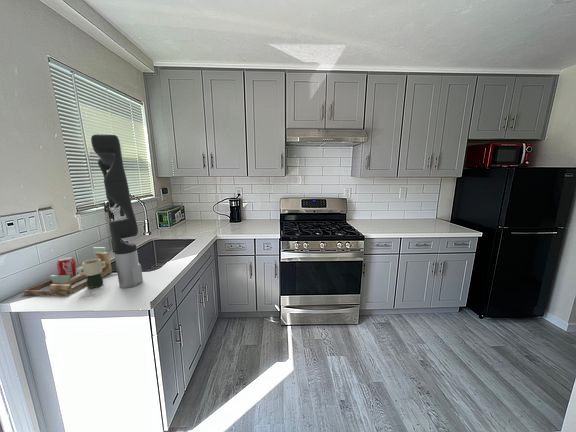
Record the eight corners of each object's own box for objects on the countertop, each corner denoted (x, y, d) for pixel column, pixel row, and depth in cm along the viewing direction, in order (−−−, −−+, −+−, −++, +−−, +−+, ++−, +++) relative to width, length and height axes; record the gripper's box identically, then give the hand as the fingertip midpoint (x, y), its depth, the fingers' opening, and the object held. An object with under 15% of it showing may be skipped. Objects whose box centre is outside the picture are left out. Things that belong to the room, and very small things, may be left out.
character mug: (104, 279, 123) (100, 256, 121) (111, 282, 120) (108, 258, 118) (78, 289, 114) (74, 263, 112) (86, 292, 111) (81, 266, 108)
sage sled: (110, 264, 144) (107, 247, 142) (69, 283, 119) (65, 263, 117) (95, 264, 145) (92, 247, 143) (51, 283, 120) (47, 262, 118)
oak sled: (114, 271, 134) (111, 252, 132) (69, 293, 109) (65, 271, 107) (98, 270, 135) (95, 252, 133) (51, 293, 110) (46, 270, 108)
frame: (108, 274, 130) (107, 271, 129) (67, 296, 107) (66, 292, 107) (72, 273, 131) (71, 270, 131) (24, 294, 109) (23, 290, 109)
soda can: (81, 277, 127) (78, 256, 125) (70, 283, 120) (65, 260, 118) (68, 277, 127) (64, 256, 125) (56, 283, 120) (51, 261, 118)
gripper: (109, 192, 136) (113, 219, 139) (127, 190, 150) (131, 215, 153) (97, 192, 137) (101, 219, 140) (116, 190, 151) (120, 215, 153)
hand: (117, 217), depth 146 cm, fingers open, 8 cm apart
